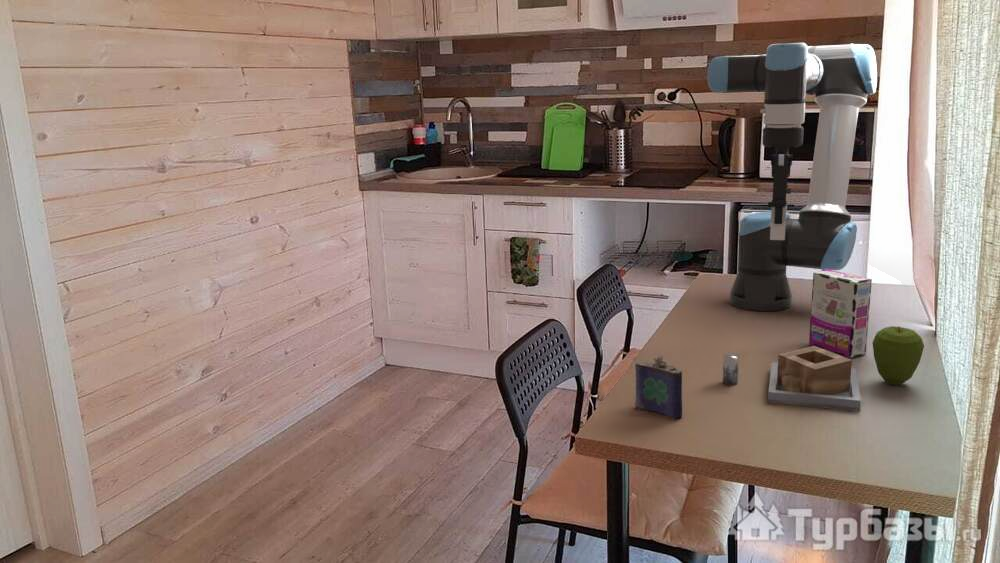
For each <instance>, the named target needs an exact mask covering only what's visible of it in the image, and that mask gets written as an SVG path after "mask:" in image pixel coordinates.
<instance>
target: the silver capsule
mask: <svg viewBox="0 0 1000 563" xmlns="http://www.w3.org/2000/svg"><path fill="white" fill-rule="evenodd" d="M739 359H740V358H739V355H738V354H736V353H724V354H723V363H722V364H723V365H722V366H723V367H722V383H723V385H727V386H736V385H737V383H739V381H738V380H739V378H738V377H739Z"/></svg>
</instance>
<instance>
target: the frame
mask: <svg viewBox="0 0 1000 563" xmlns="http://www.w3.org/2000/svg"><path fill="white" fill-rule="evenodd" d="M777 358H778V359H777V363H778V375H777V384H779V385H781V386H782V391H790V392H801V393H811V394H822V395H835V394H838V393H842V392H846V391H849V390H850V379H851V369H852V363H853V360H852V358H848V357H845V356H842V355H839V354H836V353H833V352H830V351H827V350H824V349H822V348H819V347H816V346H813V345H811V346H807V347H804V348H799V349H795V350H791V351H787V352H783V353H779V354H778V357H777Z"/></svg>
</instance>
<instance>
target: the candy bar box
mask: <svg viewBox="0 0 1000 563" xmlns="http://www.w3.org/2000/svg"><path fill="white" fill-rule="evenodd" d="M812 274H813V275H812V288H811V289H812V293H811V304H810V306H811V309H810V320H809V321H810V323H809V337H808V338H809V339H808V344H809V345H811V346H816V347H819V348H822V349H824V350H827V351H830V352H832V353H835V354H837V355H840V356H843V357H845V358H848V359H854V358H858V357H862V356H865V355H866V353H867V345H868V344H867V343H868V331H869V330H868V329H869V317H870V316H869V315H870V305H871V293H872V281H873V280H872V278H867V277H863V276H858V275H855V274H850V273H845V272H842V271H841V272H840V271H839V270H829V269H828V270H819V271H813V273H812Z"/></svg>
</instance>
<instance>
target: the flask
mask: <svg viewBox="0 0 1000 563" xmlns="http://www.w3.org/2000/svg"><path fill="white" fill-rule="evenodd" d="M663 358H665V356H664V355H658V356H657V357H653V360H654V361H655V362H652V361H646V360H638V361H636V362H635V408H636V409H637V410H639V411H641V412H646V413H648V414H651V415H656V416H659V417H663V418H666V419H670V420H672V421H680V420H682V419H683V398H682V397H683V371H682V370H681V369H680V368H676V366H674V365H668V363H667V362H666V360H665V361H664V360H663Z"/></svg>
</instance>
